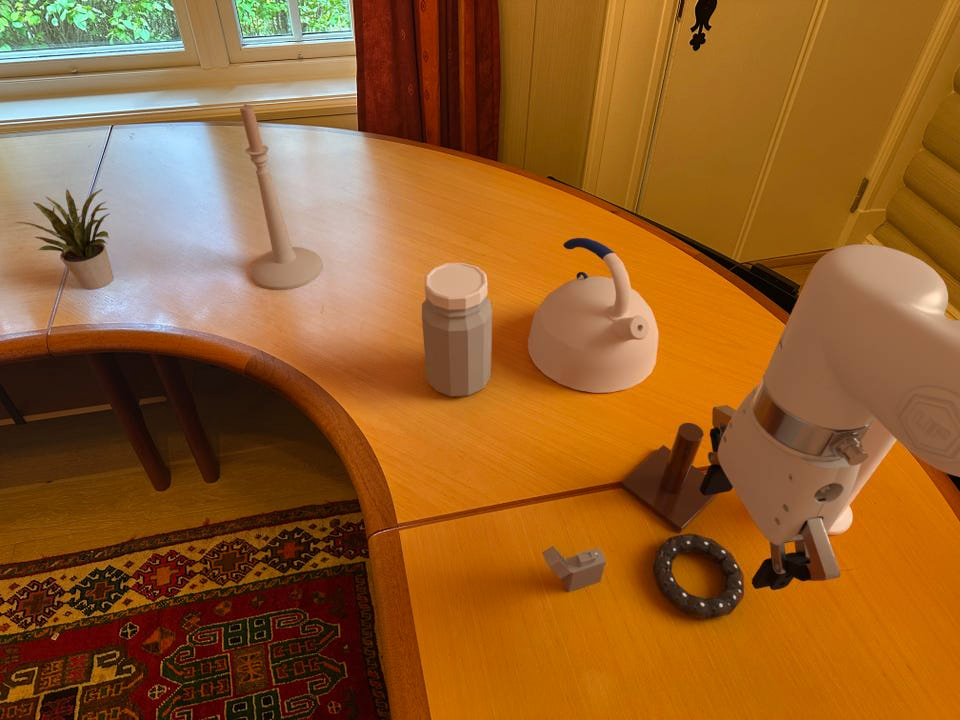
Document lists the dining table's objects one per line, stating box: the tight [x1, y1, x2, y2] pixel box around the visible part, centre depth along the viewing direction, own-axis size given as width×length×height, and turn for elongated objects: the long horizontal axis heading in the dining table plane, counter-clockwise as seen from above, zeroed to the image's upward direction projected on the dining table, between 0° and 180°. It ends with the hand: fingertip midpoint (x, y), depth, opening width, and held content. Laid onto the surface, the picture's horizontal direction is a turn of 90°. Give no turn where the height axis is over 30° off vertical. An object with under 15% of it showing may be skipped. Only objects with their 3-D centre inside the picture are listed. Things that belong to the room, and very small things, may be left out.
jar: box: [421, 262, 493, 398], centre depth 85 cm, size 10×10×18 cm
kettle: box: [527, 237, 659, 394], centre depth 90 cm, size 20×21×18 cm
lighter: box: [541, 545, 607, 593], centre depth 64 cm, size 7×2×8 cm, turn 109°
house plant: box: [16, 188, 115, 290], centre depth 104 cm, size 14×14×16 cm
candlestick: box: [239, 103, 324, 291], centre depth 102 cm, size 13×13×30 cm
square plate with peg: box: [619, 422, 720, 534], centre depth 73 cm, size 9×9×11 cm
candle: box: [827, 417, 898, 536], centre depth 66 cm, size 7×7×25 cm
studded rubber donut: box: [652, 532, 745, 620], centre depth 67 cm, size 10×10×2 cm
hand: (739, 534), depth 56 cm, fingers open, 9 cm apart
